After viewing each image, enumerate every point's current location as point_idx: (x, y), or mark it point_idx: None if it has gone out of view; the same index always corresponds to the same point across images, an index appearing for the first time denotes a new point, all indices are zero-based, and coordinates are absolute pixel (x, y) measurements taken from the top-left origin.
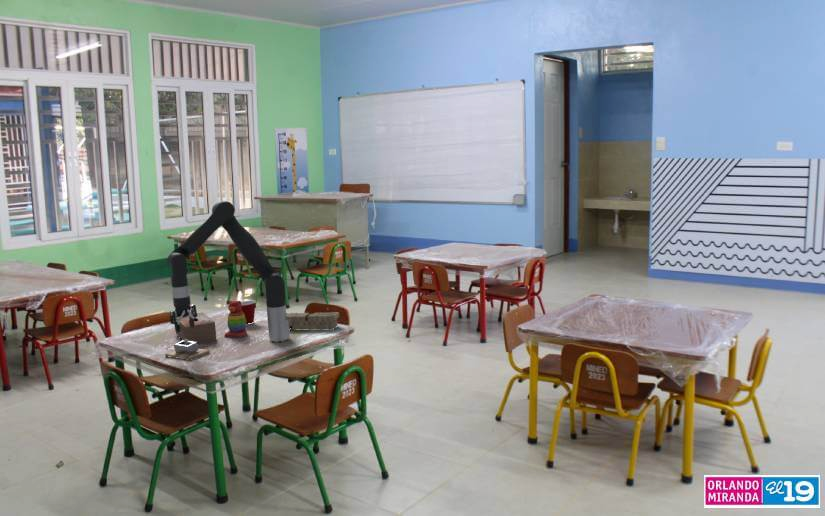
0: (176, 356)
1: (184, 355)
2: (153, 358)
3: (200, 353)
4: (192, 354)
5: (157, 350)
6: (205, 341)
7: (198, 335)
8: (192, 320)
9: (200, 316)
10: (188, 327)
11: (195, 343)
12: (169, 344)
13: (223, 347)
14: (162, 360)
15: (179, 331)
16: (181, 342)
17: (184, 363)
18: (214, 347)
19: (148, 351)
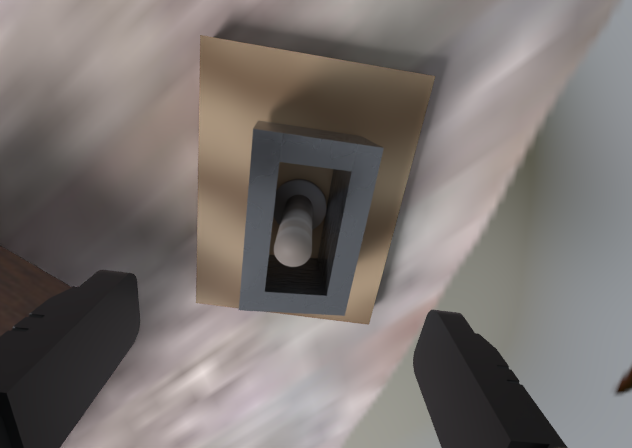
0: (393, 224)
1: (389, 163)
2: (402, 353)
3: (309, 54)
4: (353, 111)
5: (264, 417)
6: (7, 260)
7: (4, 320)
8: (16, 379)
9: None
10: None
11: (276, 130)
12: (151, 425)
13: (21, 18)
14: (436, 283)
15: (459, 314)
16: (283, 290)
17: (500, 76)
18: (63, 109)
19: (292, 442)
